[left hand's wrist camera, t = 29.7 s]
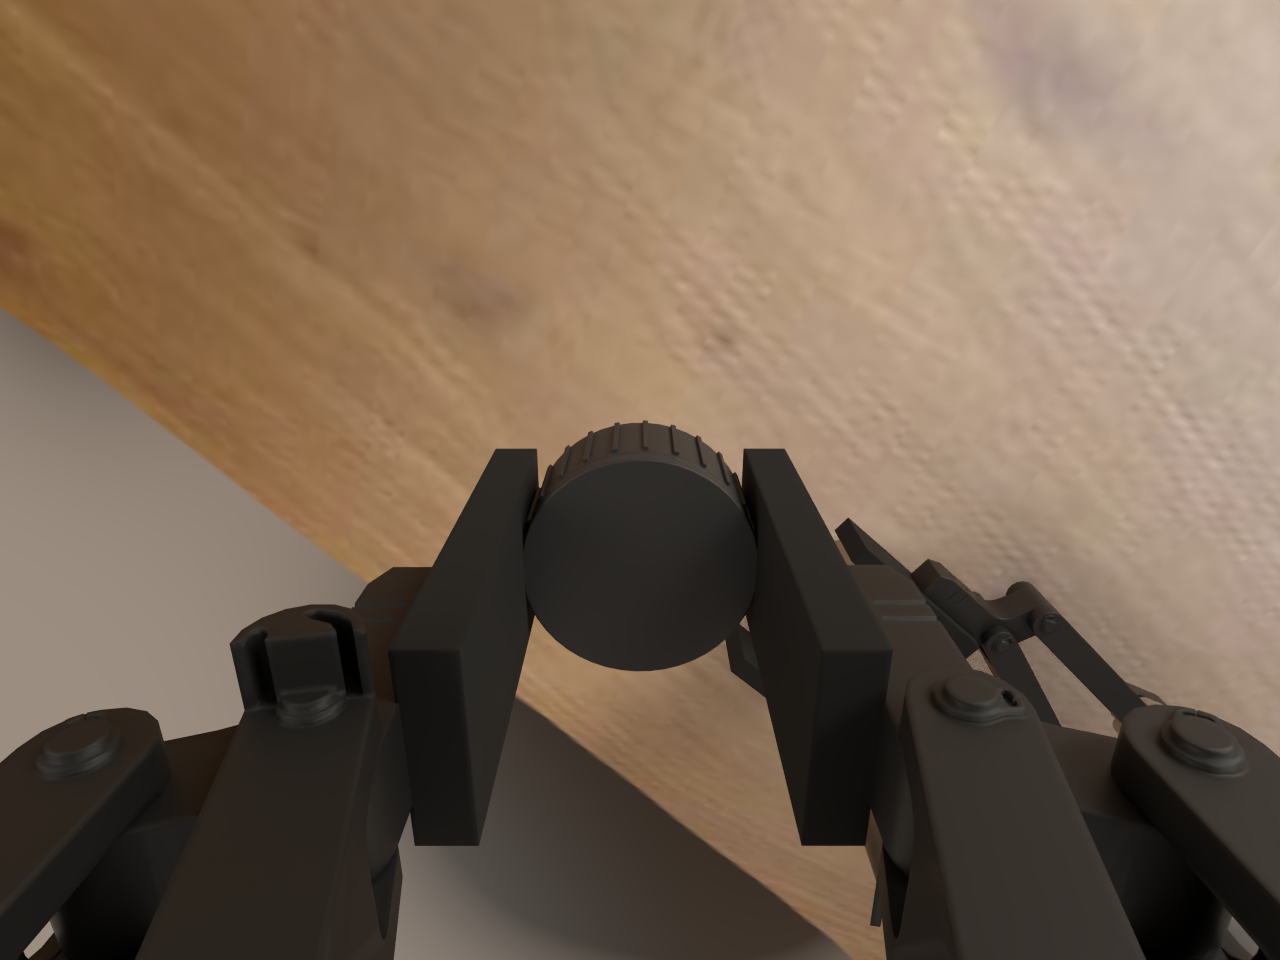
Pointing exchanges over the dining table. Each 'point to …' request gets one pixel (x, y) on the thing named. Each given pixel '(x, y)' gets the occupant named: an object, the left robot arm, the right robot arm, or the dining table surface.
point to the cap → (640, 548)
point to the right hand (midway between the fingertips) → (790, 594)
